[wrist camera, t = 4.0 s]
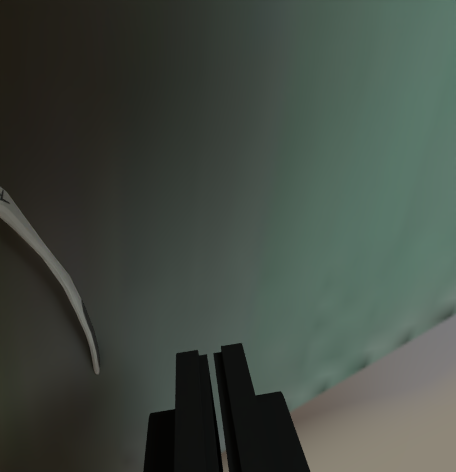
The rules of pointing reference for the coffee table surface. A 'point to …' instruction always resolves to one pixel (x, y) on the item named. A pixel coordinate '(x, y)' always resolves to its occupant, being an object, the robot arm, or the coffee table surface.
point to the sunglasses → (11, 214)
